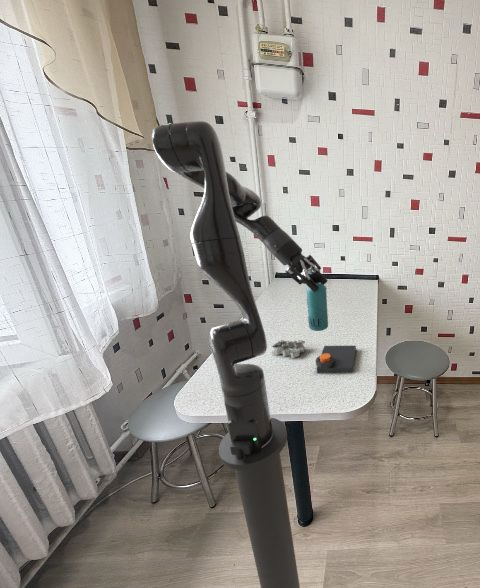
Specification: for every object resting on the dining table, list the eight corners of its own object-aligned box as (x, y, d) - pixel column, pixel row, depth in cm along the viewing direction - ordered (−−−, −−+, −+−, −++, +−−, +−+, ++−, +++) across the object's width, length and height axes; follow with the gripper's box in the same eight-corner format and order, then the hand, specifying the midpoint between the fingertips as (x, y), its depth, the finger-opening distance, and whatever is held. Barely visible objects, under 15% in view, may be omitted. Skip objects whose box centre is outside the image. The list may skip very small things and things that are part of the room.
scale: (352, 372, 115) (351, 364, 114) (314, 373, 114) (314, 364, 113) (355, 349, 129) (355, 341, 128) (322, 349, 128) (322, 342, 127)
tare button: (329, 363, 115) (329, 358, 114) (319, 363, 114) (318, 358, 114) (331, 357, 118) (331, 353, 117) (321, 357, 118) (320, 353, 117)
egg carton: (307, 349, 128) (306, 340, 126) (295, 360, 121) (294, 350, 119) (283, 344, 130) (282, 335, 129) (270, 354, 124) (269, 344, 122)
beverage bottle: (327, 325, 115) (324, 270, 108) (330, 334, 110) (327, 277, 102) (307, 327, 113) (303, 272, 105) (309, 336, 107) (305, 278, 100)
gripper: (287, 248, 110) (323, 285, 113) (262, 260, 97) (303, 302, 100) (301, 234, 107) (337, 272, 110) (277, 244, 94) (319, 287, 97)
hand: (321, 286), depth 105 cm, fingers closed on beverage bottle, 6 cm apart
